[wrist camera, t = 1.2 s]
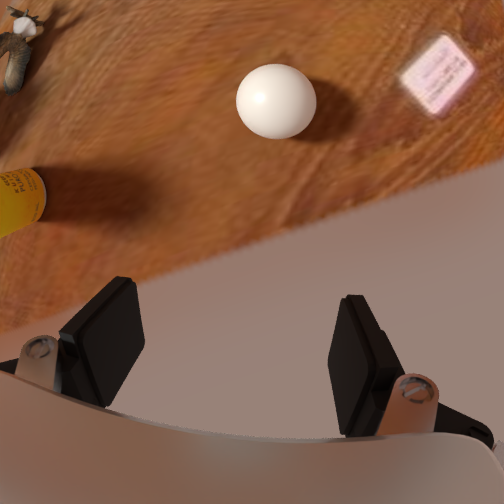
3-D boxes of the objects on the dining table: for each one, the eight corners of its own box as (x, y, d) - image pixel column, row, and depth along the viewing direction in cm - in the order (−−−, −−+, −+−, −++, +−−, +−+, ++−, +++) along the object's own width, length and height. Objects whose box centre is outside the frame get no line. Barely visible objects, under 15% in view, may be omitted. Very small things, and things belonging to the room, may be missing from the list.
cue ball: (265, 62, 20) (262, 39, 15) (324, 98, 21) (338, 85, 15) (227, 117, 22) (213, 108, 16) (286, 153, 22) (290, 155, 17)
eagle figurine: (15, 15, 16) (-26, 83, 18) (0, -5, 10) (-50, 79, 12) (60, 33, 21) (19, 103, 23) (53, 15, 15) (1, 101, 17)
